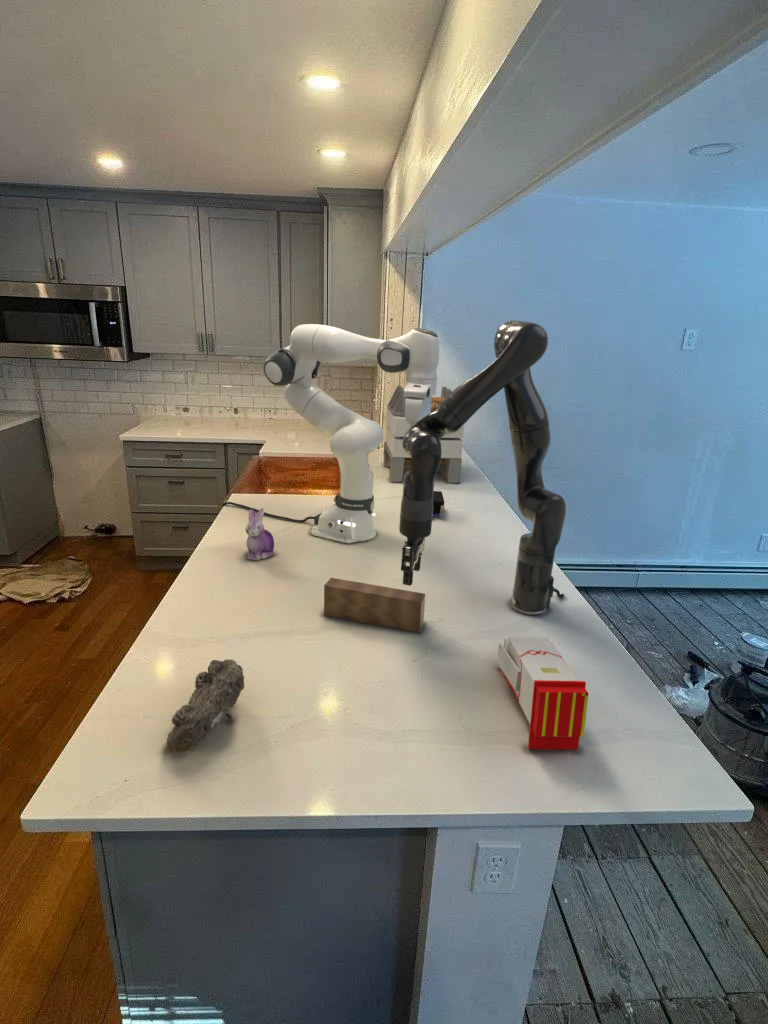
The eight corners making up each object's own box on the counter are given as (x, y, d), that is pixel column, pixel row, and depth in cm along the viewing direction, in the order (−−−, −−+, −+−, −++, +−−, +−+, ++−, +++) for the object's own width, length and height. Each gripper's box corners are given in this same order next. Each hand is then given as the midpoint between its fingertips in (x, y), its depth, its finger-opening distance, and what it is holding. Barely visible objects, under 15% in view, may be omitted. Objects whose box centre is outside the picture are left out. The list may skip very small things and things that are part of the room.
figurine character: (444, 523, 215) (440, 506, 228) (446, 505, 211) (442, 489, 225) (427, 523, 215) (424, 505, 228) (428, 505, 211) (425, 488, 225)
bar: (323, 614, 145) (324, 585, 143) (330, 606, 150) (330, 577, 147) (419, 632, 139) (421, 602, 136) (423, 623, 144) (425, 593, 141)
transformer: (382, 463, 289) (386, 382, 275) (445, 464, 293) (451, 384, 279) (390, 482, 257) (394, 392, 243) (460, 483, 261) (468, 394, 247)
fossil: (192, 660, 117) (244, 628, 112) (224, 691, 120) (276, 661, 115) (142, 746, 98) (202, 712, 93) (182, 779, 101) (242, 748, 96)
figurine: (249, 563, 172) (248, 517, 167) (241, 550, 180) (239, 506, 175) (280, 558, 176) (279, 513, 171) (270, 546, 184) (269, 502, 179)
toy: (545, 621, 128) (598, 688, 99) (540, 675, 131) (589, 757, 102) (492, 620, 128) (529, 687, 98) (488, 674, 131) (522, 756, 101)
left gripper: (417, 382, 174) (414, 427, 179) (402, 391, 155) (399, 440, 160) (437, 384, 172) (434, 429, 177) (424, 393, 154) (420, 443, 158)
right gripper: (425, 526, 125) (420, 592, 130) (437, 507, 138) (432, 568, 143) (393, 522, 127) (388, 587, 132) (407, 503, 140) (403, 563, 145)
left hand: (417, 435), depth 168 cm, fingers open, 8 cm apart
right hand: (411, 577), depth 138 cm, fingers open, 8 cm apart
